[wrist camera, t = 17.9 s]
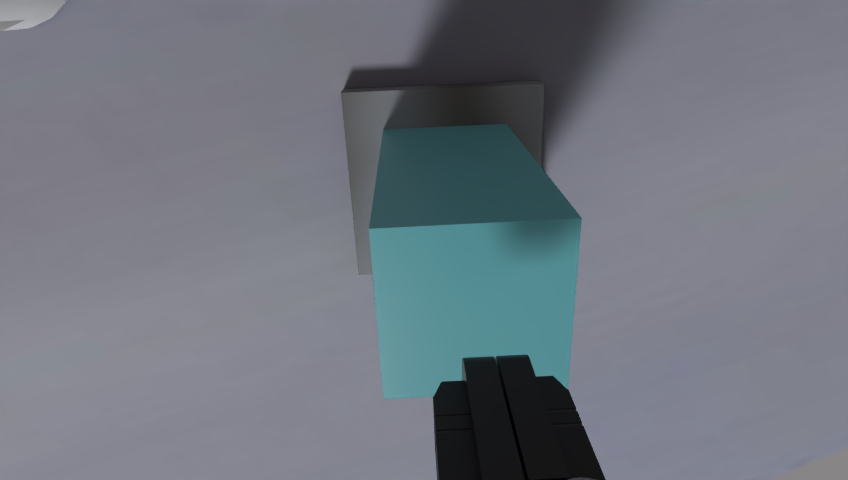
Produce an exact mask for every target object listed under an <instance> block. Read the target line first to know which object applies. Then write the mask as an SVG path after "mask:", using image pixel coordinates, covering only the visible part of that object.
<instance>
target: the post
mask: <svg viewBox="0 0 848 480" xmlns="http://www.w3.org/2000/svg"><path fill="white" fill-rule="evenodd" d="M544 94H545V83H543V82H542V81H540V80H537V81H514V82H492V83H470V84H447V85H425V86H403V87H381V88H358V89H343V91H342V92H341V97H342V107H343V117H344V128H345V138H346V148H347V159H348V169H349V179H350V189H351V200H352V210H353V220H354V231H355V241H356V251H357V262H358V272H359V275H361V274H373V272H372V260H371V249H370V237H369V224H370V217H371V210H372V203H373V196H374V189H375V182H376V175H377V168H378V161H379V154H380V147H381V140H382V134H383V130H384V129H406V128H427V127H448V126H469V125H490V124H507V125H508V126H509V128H510V129H511V130H512V131H513V133H514V134H515V135H516V136H517V138H518V139H519V140H520V141H521V143H522V144H523V145H524V146H525V148H526V149H527V150H528V151H529V153H530V154H531V155H532V156H533V158H534V159H535V160H536V161H537V163H538V164H539V165H540V166H541V156H542V135H543V115H544Z"/></svg>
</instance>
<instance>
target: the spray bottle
mask: <svg viewBox="0 0 848 480" xmlns="http://www.w3.org/2000/svg"><path fill="white" fill-rule="evenodd" d="M66 1H67V0H0V31H4V30H15V29H26V28H32V27H34V26H36V25H38V24H40V23H42V22H44V21H46V20H48V19H51V18H52V17H53V16H54V15H55V14H56V13H57V11H58V10H59V9H60V8H61V7H62V6H63V5H64V3H65V2H66Z"/></svg>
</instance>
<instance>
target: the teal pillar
mask: <svg viewBox="0 0 848 480" xmlns="http://www.w3.org/2000/svg"><path fill="white" fill-rule="evenodd" d="M581 220H582V218H581V217H580V215H579V214H578V213H577V212H576V210H575V209H574V208H573V207H572V205H571V204H570V203H569V202H568V200H567V199H566V198H565V197H564V195H563V194H562V193H561V192H560V190H559V189H558V188H557V187H556V185H555V184H554V183H553V182H552V180H551V179H550V178H549V177H548V175H547V174H546V173H545V171H544V170H543V169H542V168H541V166H540V165H539V164H538V163H537V161H536V160H535V159H534V158H533V156H532V155H531V154H530V153H529V151H528V150H527V149H526V148H525V146H524V145H523V144H522V143H521V141H520V140H519V139H518V138H517V136H516V135H515V134H514V133H513V131H512V130H511V129H510V128H509V126H508V125H507V124H490V125H469V126H448V127H427V128H406V129H384V130H383V134H382V140H381V147H380V154H379V161H378V168H377V175H376V182H375V189H374V196H373V203H372V210H371V217H370V224H369V237H370V249H371V260H372V272H373V283H374V295H375V306H376V318H377V329H378V341H379V352H380V364H381V375H382V387H383V398H384V399H399V398H417V397H434V395H435V393H436V391H437V389H438V387H439V385H440V383H441V382H443V381H462V358H469V357H488V356H494V358H495V357H496V356H505V355H525V354H527V355H528V356H529V358H530V361H531V364H532V366H533V369H534V372H535V375H536V377H537V376H554V377H555V378H556V379H557V380H558V381H559V382H560V383H561V384H562V385H564V386H565V387H566V388H567V389H568V380H569V367H570V355H571V343H572V331H573V318H574V306H575V294H576V282H577V269H578V257H579V245H580V232H581Z"/></svg>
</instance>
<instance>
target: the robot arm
mask: <svg viewBox="0 0 848 480" xmlns="http://www.w3.org/2000/svg"><path fill="white" fill-rule="evenodd" d="M433 407H434V433H435V454H436V468H437V480H605V477H604V475H603V473H602V470H601V468H600V465H599V463H598V460H597V458H596V456H595V453H594V451H593V448H592V446H591V443H590V441H589V439H588V436H587V434H586V431H585V429H584V426H582V422H581V419H580V417H579V414H578V412H577V411H576V407H575V405H574V402H573V400H572V397H571V395H570V393H569V390H568V389H567V388H566V387H565V386H564V385H562V384H561V383H560V382H559V381H558V380H557V379H556V378H555V377H554V376H537V377H536V375H535V372H534V369H533V366H532V364H531V361H530V358H529V356H528V355H527V354H525V355H505V356H496V357H495V358H494V356H488V357H469V358H462V381H443V382H441V383H440V385H439V387H438V389H437V391H436V393H435V395H434V397H433Z"/></svg>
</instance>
